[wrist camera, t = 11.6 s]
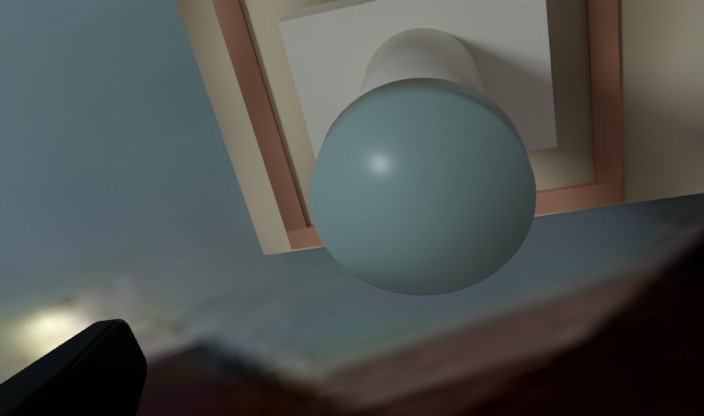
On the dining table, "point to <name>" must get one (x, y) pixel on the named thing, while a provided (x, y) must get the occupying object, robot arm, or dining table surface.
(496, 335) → the dining table surface
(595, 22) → the stamping board
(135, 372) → the robot arm
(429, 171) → the hand stamp
